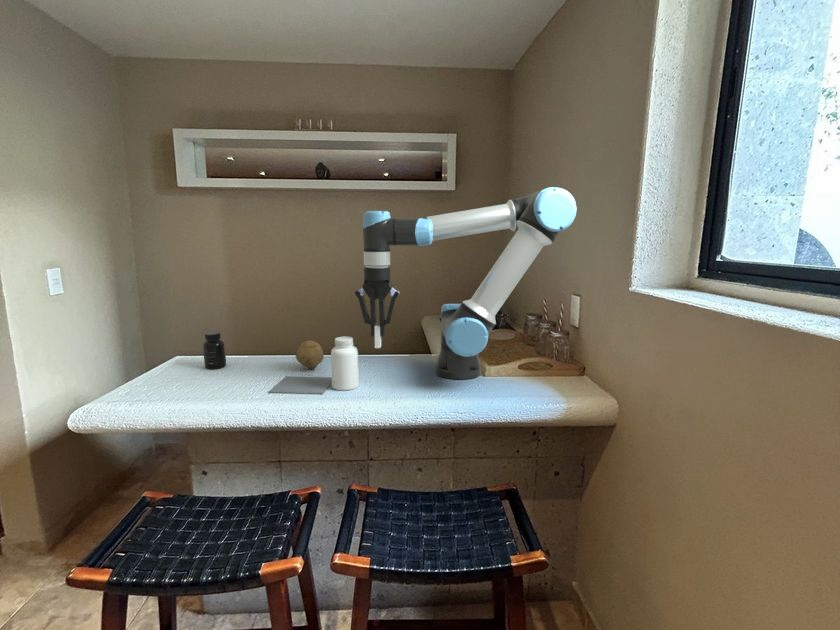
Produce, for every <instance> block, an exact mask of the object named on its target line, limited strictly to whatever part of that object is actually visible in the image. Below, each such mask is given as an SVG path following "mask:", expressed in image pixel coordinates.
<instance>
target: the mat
mask: <svg viewBox="0 0 840 630" xmlns="http://www.w3.org/2000/svg"><path fill="white" fill-rule="evenodd" d="M331 385H332V376H298V375H297V376H295V375H294V376H293V375H292V376H291V375H289V376H288V375H286V376H284V377H283V378H282V379H281V380H280V381H279V382H277V383H276V384H275V385H273V387H272V388H271V389H269V390H268V391H267V393H269V394H289V395H290V394H291V395H292V394H293V395H294V394H295V395H324V393H326V391H327V390H328V388H329V387H330V386H331Z"/></svg>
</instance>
